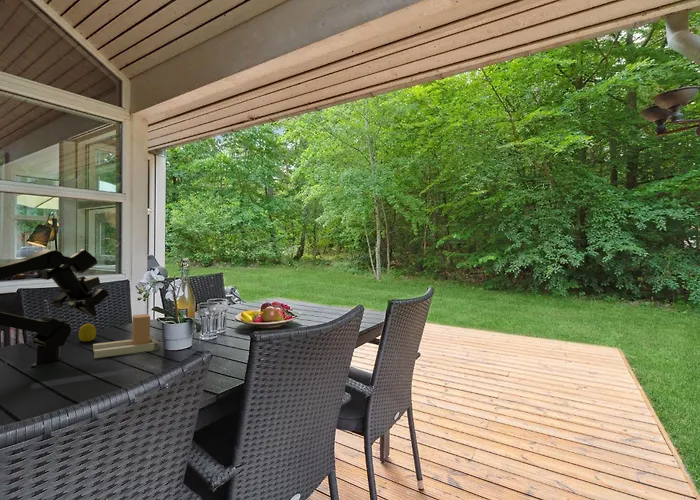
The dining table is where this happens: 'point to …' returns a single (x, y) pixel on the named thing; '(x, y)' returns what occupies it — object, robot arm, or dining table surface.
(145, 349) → the chute
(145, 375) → the dining table surface
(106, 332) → the dining table surface
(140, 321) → the block
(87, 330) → the lemon
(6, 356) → the dining table surface
